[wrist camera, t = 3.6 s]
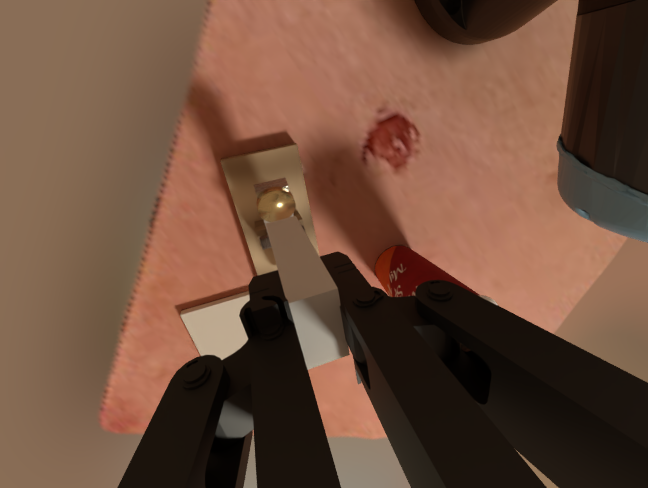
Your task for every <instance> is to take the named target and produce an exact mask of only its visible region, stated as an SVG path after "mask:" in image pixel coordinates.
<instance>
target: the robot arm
mask: <svg viewBox="0 0 648 488" xmlns="http://www.w3.org/2000/svg"><path fill="white" fill-rule="evenodd" d="M556 1H557V0H415V2H416V4H417V6H418V8H419V10H420V12H421V14H422V15H423V17H424V18H425V20H426V21H427V22H428V24H429V25H430V26H431V27H432V28H433V29H434V30H435V31H436V32H437V33H438V34H440V35H441V36H443V37H444V38H446V39H448V40H450V41H452V42H455V43H459V44H466V45H473V44H479V43H484V42H487V41H491V40H494V39H498V38H501V37H503V36H506V35H508V34H510V33H512V32H514V31H516V30H517V29H519V28H520V27H522V26H523V25H525V24H526V23H527V22H529V21H530V20H532V19H533V18H534V17H536V16H537V15H538V14H540V13H541V12H542V11H544V10H545V9H546V8H548V7H549V6H551V5H552V4H553V3H555V2H556ZM557 150H558V152H559V164H558V180H557V184H558V190H559V193H560V196H561V197H562V199H563V201H564V202H565V203H566V204H567V205H568V206H569V207H570V208H571V209H572V210H573V211H574V212H576V213H577V214H578V215H580V216H581V217H583V218H586V219H588V220H590V221H592V222H594V223H595V224H596V225H598V226H600V227H602V228H604V229H607V230H609V231H612V232H615V233H617V234H620V235H623V236H626V237H629V238H633V239H636V240H640V241H643V242H647V243H648V0H579V4H578V12H577V16H576V24H575V32H574V39H573V47H572V55H571V62H570V70H569V77H568V85H567V93H566V100H565V108H564V116H563V123H562V131H561V134H560V136H559V139H558V141H557ZM266 228H267V231H268V235H269V239H270V243H271V246H272V250H273V254H274V257H275V261H276V265H277V268H278V270H275V271H272V272H269V273H265V274H262V275H258V276H255V277H253V278H252V280H251V282H250V284H249V285H248V286H249V299H250V300H249V301H248V302H247V303H246V304H245V305H244V306H243V307H242V308H241V311H240V314H239V317H240V319H241V322H242V324H243V327H244V329H245V332H246V335H247V337H248V340H247V342H246V343H245V344H244V345H243V346H242V347H241V348H240V349H239V350H237V351H236V352H234V353H233V354H231V355H230V356H228V357H226V358H224V359H223V360H221V358H219V357H217V356H215V355H203V356H200V357H196V358H194V359H193V360H191V361H189V362H187V363H186V364H184V365H183V366H182V367H181V368H180V369H179V370H178V371H177V372H176V373H175V375H174V376H173V378H172V379H171V381H170V383H169V385H168V387H167V389H166V391H165V393H164V395H163V397H162V399H161V401H160V403H159V405H158V407H157V409H156V411H155V413H154V415H153V417H152V419H151V421H150V423H149V425H148V427H147V429H146V431H145V433H144V435H143V437H142V439H141V442H140V443H139V445H138V447H137V450H136V451H135V453H134V455H133V457H132V460H131V461H130V464H129V466H128V468H127V470H126V472H125V474H124V476H123V478H122V480H121V482H120V484H119V486H118V488H243V486H244V480H245V475H246V469H247V463H248V457H249V451H250V445H251V440H252V434H253V432H252V430H253V429H254V442H255V458H256V475H257V488H341V486H340V482H339V479H338V475H337V472H336V468H335V465H334V461H333V458H332V454H331V451H330V447H329V443H328V440H327V436H326V433H325V429H324V426H323V422H322V419H321V415H320V412H319V408H318V405H317V401H316V398H315V394H314V391H313V387H312V384H311V380H310V377H309V373H308V369H311V368H314V367H317V366H319V365H322V364H325V363H328V362H331V361H333V360H336V359H339V358H342V357H345V356H347V355H350V354H349V348H350V350H351V352H352V354H353V359H354V364H355V370H356V376H357V381H358V384H360V383H361V381H362V383H363V385H364V388H365V390H366V392H367V394H368V396H369V398H370V400H371V403H372V405H373V407H374V409H375V411H376V413H377V415H378V418H379V420H380V422H381V424H382V426H383V428H384V431H385V433H386V435H387V437H388V439H389V441H390V443H391V446H392V447H393V450H394V452H395V454H396V456H397V458H398V460H399V463H400V465H401V467H402V469H403V471H404V473H405V476H406V478H407V480H408V482H409V484H410V486H411V488H546V486H545V485H544V484H543V483H542V481H541V480H540V479H539V478H538V477H537V476H536V474H535V473H534V472H533V471H532V469H531V468H530V467H529V466H528V464H527V463H526V462H525V461H524V460H523V459H522V457H521V456H520V455H519V454H518V452H519V453H520V454H521V455H523V456H524V457H525V458H526V459H527V460H528V461H529V462H530V463H532V464H533V465H534V466H535V467H536V468H537V469H538V470H540V471H541V472H542V473H543V474H544V475H545V476H546V477H547V478H549V479H550V480H551V481H552V482H553V483H554V484H555V485H556V486H558V487H559V488H648V383H647V382H645V381H643V380H641V379H639V378H637V377H635V376H633V375H632V374H630V373H628V372H626V371H623V370H622V369H620V368H618V367H616V366H614V365H612V364H610V363H608V362H606V361H604V360H602V359H600V358H599V357H597V356H595V355H593V354H591V353H589V352H587V351H585V350H583V349H581V348H579V347H577V346H575V345H573V344H571V343H569V342H567V341H566V340H564V339H562V338H560V337H558V336H556V335H554V334H552V333H550V332H548V331H546V330H544V329H542V328H540V327H538V326H536V325H534V324H532V323H531V322H529V321H527V320H525V319H523V318H521V317H519V316H517V315H515V314H513V313H511V312H509V311H507V310H505V309H503V308H501V307H499V306H498V305H496V304H494V303H492V302H490V301H488V300H486V299H484V298H482V297H480V296H478V295H476V294H474V293H472V292H470V291H468V290H466V289H464V288H463V287H461V286H459V285H457V284H455V283H452V282H449V281H445V280H429V281H426V282H423V283H421V284H420V285H419V286H418V287H417V288H416V291H415V296H404V297H390V296H388V295H387V294H386V293H385V292H384V291H383V290H381V289H379V288H376V287H371V286H370V284H369V283H368V282H367V280H366V279H365V278H364V277H363V275H362V274H361V273H360V271H359V270H358V269H357V268H356V266H355V265H354V264H353V263H352V261H351V260H350V259H349V257H348V256H347V255H345V254H343V253H340V252H334V253H331V254H327V255H324V256H321V257H319V255H318V253H317V252H316V250H315V248H314V246H313V245H312V243H311V241H310V240H309V238H308V236H307V234H306V233H305V231H304V229H303V228H302V226H301V224H300V222H299V221H298V219H297V217H296V216H293V217H289V218H285V219H281V220H277V221H274V222H270V223H266ZM348 346H349V348H348ZM514 448H515V449H516V450H517V451H518V452H517V451H516V450H515V449H514Z"/></svg>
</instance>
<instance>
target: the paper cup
mask: <svg viewBox="0 0 648 488" xmlns="http://www.w3.org/2000/svg"><path fill="white" fill-rule="evenodd" d="M375 273H376V276H377V278H378V280H379V281H380V283H381V284H382V286H383V287H384V289H385V290H386V292H387V293H388V295H389V296H390V297H404V296H415V291H416V288H417V287H418V286H419V285H420V284H421V283H423V282H426V281H429V280H445V281H449V282H452V283H455V284H457V285H459V286H461V287H463V288H464V289H466V290H468V291H470V292H472V293H474V294H476V295H478V296H480V297H482V298H484V299H486V300H488V301H490V302H492V303H494V304H496V305H497V303H496V302H495V301H494V300H493V299H491V298H489V297H487V296H482V295H479V294H478V293H476V292H475V291H473V290H472V289H470V288H469V287H467V286H466V285H464V284H463V283H461V282H460V281H458V280H457V279H455V278H454V277H452V276H451V275H449V274H448V273H446V272H445V271H443V270H442V269H440V268H439V267H437V266H436V265H434V264H433V263H431V262H430V261H428V260H427V259H425V258H424V257H422V256H421V255H419V254H418V253H416V252H414V251H413V250H411V249H409V248H408V247H405V246H393V247H391V248H389V249H387V250H386V251H384V252H383V253H382V254H381V255H380V257H379V258H378V260H377V262H376V265H375Z"/></svg>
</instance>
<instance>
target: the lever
mask: <svg viewBox="0 0 648 488" xmlns="http://www.w3.org/2000/svg"><path fill="white" fill-rule="evenodd" d="M254 188H255V192H256V195H257V201H256V205H257V209H258V213H259V215H260V217H261V218H262V219H264V223H265V226H266V223H270V222H274V221H277V220H281V219H285V218H289V217H293V216H294V215H293V213H294V211H295V208H296V203H295V200H294V198H293V195H292V193H291V192H290V191H289V186H288V183H287V181H286V178H280V179H276V180H272V181H267V182H263V183H259V184H254ZM302 228H303V229H304V226H303V225H302ZM266 229H267V228H266ZM304 231H305V229H304ZM267 233H268V231H267ZM305 233H306V232H305ZM259 238H260V242H261V246H262V249H263V250H264V249H268V248H272V246H271V243H270V239H269V235H264V236H260V237H259Z"/></svg>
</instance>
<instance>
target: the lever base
mask: <svg viewBox="0 0 648 488" xmlns="http://www.w3.org/2000/svg"><path fill="white" fill-rule="evenodd" d="M220 162H221V165H222V168H223V171H224V174H225V177H226V180H227V183H228V186H229V189H230V192H231V195H232V198H233V201H234V205H235V208H236V211H237V214H238V217H239V220H240V223H241V226H242V229H243V232H244V235H245V238H246V241H247V244H248V247H249V250H250V254H251V257H252V260H253V263H254V266H255V269H256V272H257V275H262V274H265V273H269V272H272V271H275V270H278V268H277V265H276V261H275V257H274V254H273V250H272V248H268V249H264V250H263V249H262V246H261V242H260V238H259V237H260V236H264V235H268V233H267V229H266V226H265V223H264V219H262V218H261V217H260V215H259V213H258V209H257V205H256V201H257V195H256V192H255V188H254V184H259V183H263V182H267V181H272V180H276V179H280V178H286V181H287V183H288V186H289V191H290V192H291V193H292V195H293V198H294V200H295V203H296V208H295V211H294V213H293V215H294V216H296V217H297V219H298V221H299V222H300V224H301V226H302V225H303V226H304V229H305V232H306V234H307V236H308V238H309V240H310V241H311V243H312V245H313V246H314V248H315V250H316V252H317V253H318V255H319V250H318V245H317V240H316V235H315V230H314V226H313V221H312V216H311V211H310V206H309V201H308V196H307V191H306V186H305V181H304V176H303V171H302V166H301V161H300V156H299V151H298V146H297V144H296V143H293V144H289V145H284V146H279V147H275V148H270V149H265V150H261V151H256V152H251V153H247V154H242V155H237V156H233V157H228V158H223V159H221V160H220ZM319 257H320V255H319Z"/></svg>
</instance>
